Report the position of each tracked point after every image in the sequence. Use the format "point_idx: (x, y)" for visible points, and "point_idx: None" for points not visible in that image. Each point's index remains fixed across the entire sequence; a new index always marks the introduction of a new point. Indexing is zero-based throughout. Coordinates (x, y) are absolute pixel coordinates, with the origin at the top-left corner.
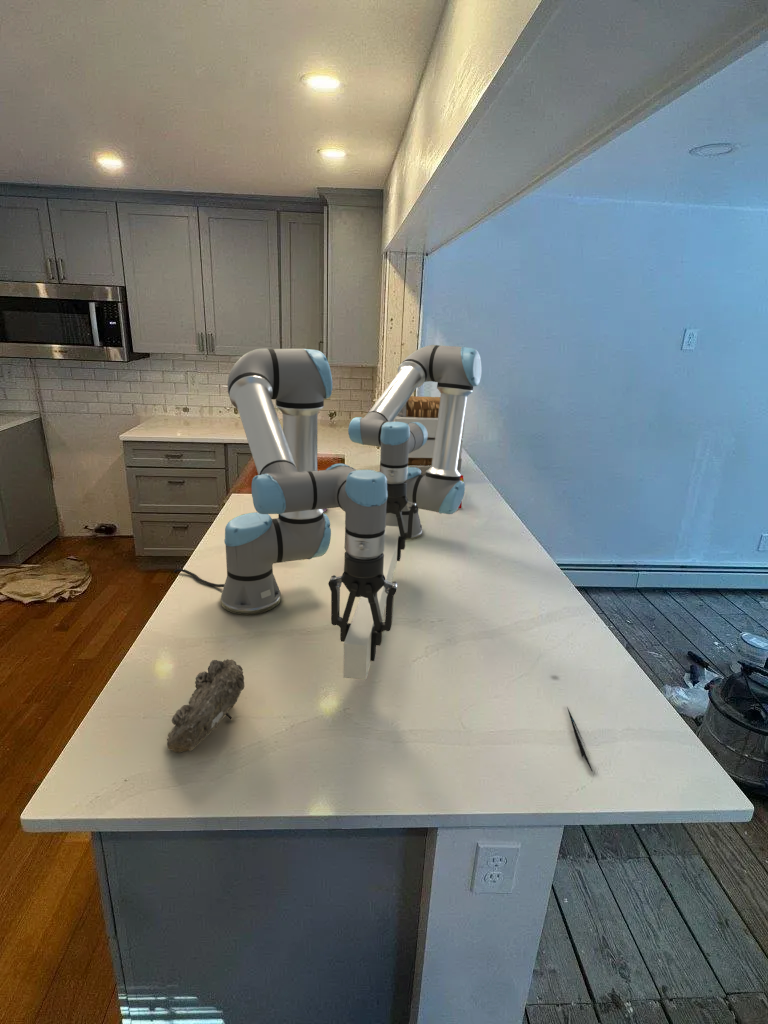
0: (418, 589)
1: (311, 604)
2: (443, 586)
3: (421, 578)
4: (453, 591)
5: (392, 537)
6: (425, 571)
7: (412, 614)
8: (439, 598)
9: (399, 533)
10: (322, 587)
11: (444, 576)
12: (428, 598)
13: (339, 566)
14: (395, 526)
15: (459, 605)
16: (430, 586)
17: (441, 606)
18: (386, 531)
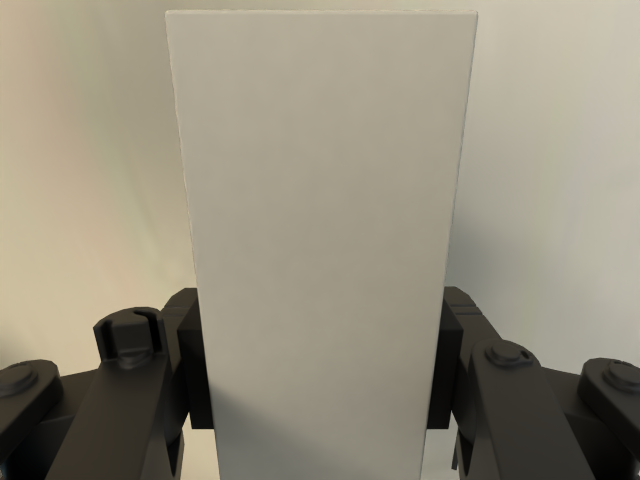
0: (468, 244)
1: None
2: (598, 189)
3: (492, 119)
4: (637, 230)
5: (351, 468)
6: (526, 11)
7: (434, 429)
8: (555, 305)
9: (439, 302)
10: (38, 312)
11: (632, 61)
12: (506, 314)
13: (3, 61)
14: (361, 20)
15: (629, 342)
16: (530, 202)
17: (552, 362)
18: (236, 304)
